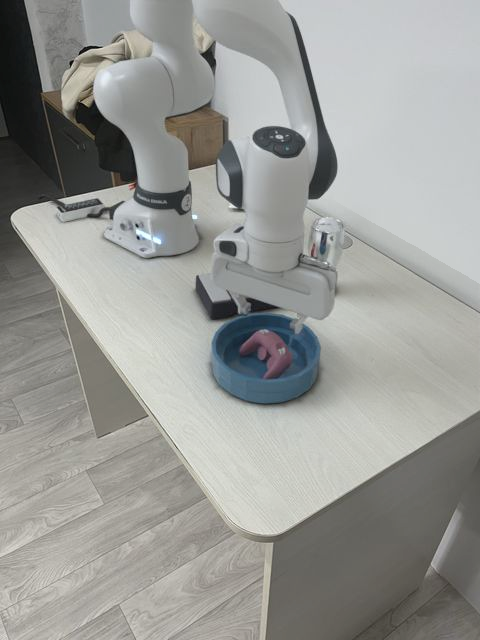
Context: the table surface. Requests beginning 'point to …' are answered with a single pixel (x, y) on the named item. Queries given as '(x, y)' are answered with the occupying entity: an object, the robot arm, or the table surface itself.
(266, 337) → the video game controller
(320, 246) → the beer glass
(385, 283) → the table surface
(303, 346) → the blue bowl
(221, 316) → the red and gray box
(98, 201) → the multiport hub
